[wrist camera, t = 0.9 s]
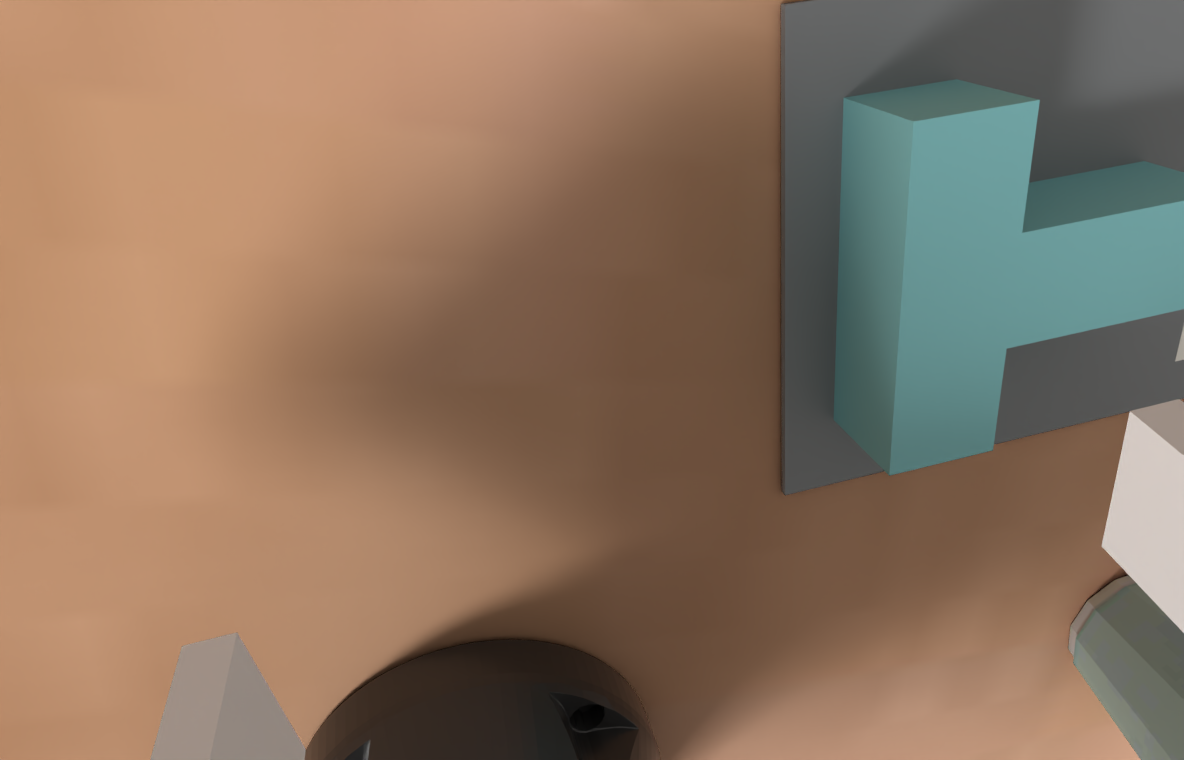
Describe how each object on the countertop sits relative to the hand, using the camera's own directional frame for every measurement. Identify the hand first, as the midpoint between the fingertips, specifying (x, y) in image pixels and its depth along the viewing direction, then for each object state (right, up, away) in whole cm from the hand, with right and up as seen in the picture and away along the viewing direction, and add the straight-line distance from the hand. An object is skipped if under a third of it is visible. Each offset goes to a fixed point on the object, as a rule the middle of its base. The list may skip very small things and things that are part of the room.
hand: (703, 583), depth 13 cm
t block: (+13, +8, +19) cm, 24 cm away
